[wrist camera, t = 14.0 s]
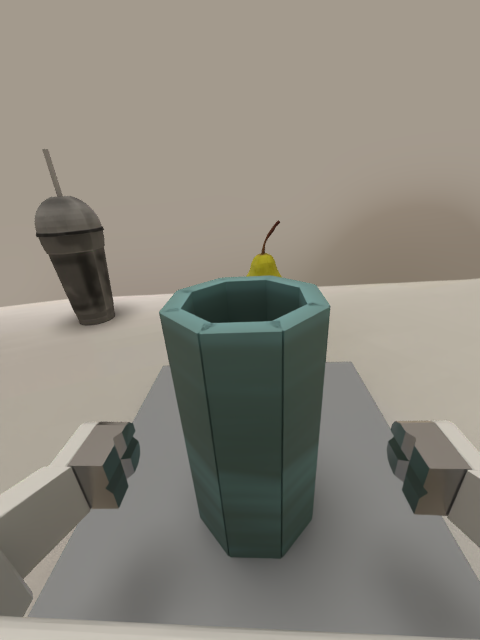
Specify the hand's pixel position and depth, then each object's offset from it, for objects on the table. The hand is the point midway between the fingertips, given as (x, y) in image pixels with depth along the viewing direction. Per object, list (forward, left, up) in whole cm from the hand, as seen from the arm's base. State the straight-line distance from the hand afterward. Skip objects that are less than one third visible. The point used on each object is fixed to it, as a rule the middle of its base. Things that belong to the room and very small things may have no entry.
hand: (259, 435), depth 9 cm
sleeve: (0, +2, -6) cm, 6 cm away
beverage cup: (-22, +27, -7) cm, 36 cm away
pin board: (0, +5, -7) cm, 9 cm away
